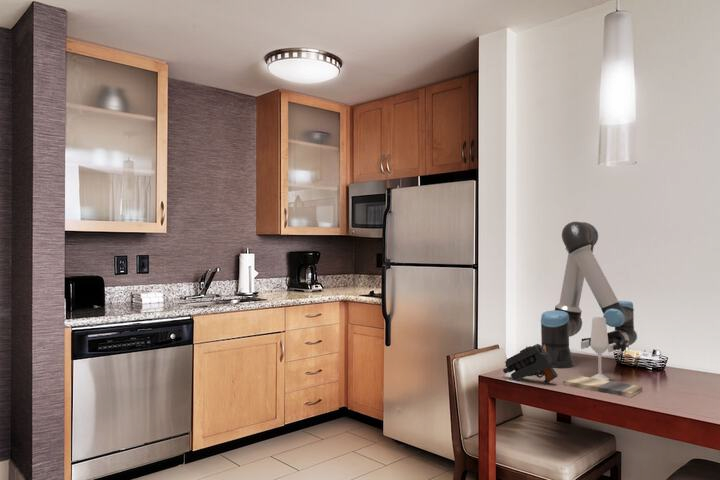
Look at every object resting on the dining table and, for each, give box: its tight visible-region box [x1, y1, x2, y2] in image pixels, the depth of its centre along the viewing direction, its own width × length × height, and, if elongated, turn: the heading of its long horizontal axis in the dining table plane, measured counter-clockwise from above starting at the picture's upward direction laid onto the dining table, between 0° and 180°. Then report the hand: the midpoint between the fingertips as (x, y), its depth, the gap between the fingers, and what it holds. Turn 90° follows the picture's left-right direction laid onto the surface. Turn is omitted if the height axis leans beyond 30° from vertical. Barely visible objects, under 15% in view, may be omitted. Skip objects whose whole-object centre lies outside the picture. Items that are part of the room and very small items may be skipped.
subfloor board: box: [562, 374, 643, 398], centre depth 191 cm, size 24×12×2 cm, turn 44°
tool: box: [502, 343, 559, 385], centre depth 202 cm, size 6×19×15 cm
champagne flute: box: [589, 316, 610, 381], centre depth 206 cm, size 7×7×24 cm
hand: (595, 347), depth 203 cm, fingers open, 10 cm apart
